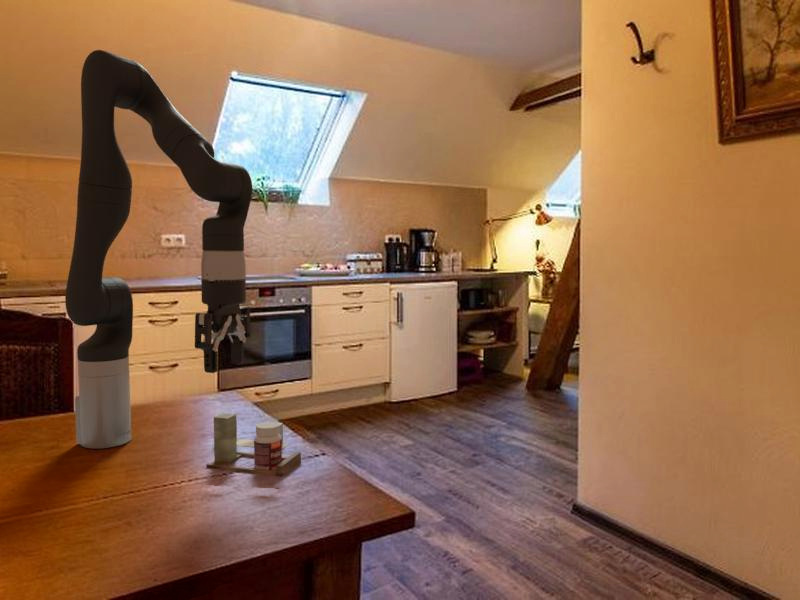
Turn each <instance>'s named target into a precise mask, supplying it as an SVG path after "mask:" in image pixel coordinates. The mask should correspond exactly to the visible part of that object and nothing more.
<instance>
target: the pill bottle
mask: <svg viewBox="0 0 800 600" xmlns="http://www.w3.org/2000/svg"><path fill="white" fill-rule="evenodd" d="M263 422H264V423H263ZM263 422H261V423H258V424H256V426H255V436H254V439H253V441H254V447H253V448H254V450H253V451H254V452H253V453H254V458H253V460H254V461H253V465H254V466H253V469H261V470H270V471H276V465H278V464H279V463H281V462H282V457H283V456H282V451H283V449H282V444H283V443H282V438H281V435H280V434H278V433H279V431H280V429H279V424H278V423H279V422H275V421H274V422H273V421H267V422H266V421H263ZM256 434H257V435H256Z"/></svg>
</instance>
